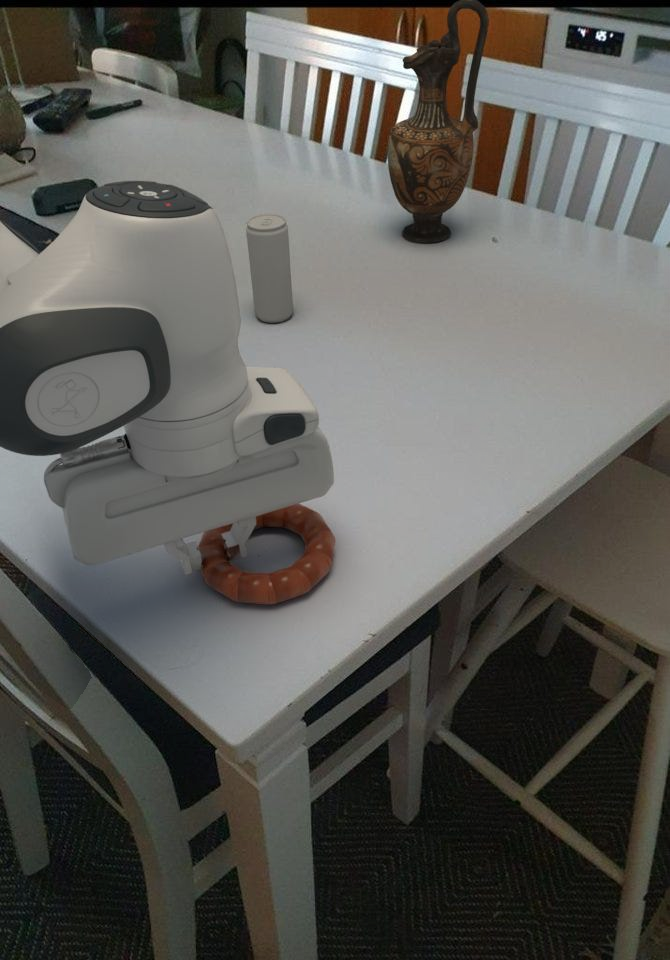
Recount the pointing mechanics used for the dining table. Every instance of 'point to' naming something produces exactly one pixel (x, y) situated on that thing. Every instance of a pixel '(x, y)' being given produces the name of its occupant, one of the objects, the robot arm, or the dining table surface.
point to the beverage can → (270, 267)
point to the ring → (279, 582)
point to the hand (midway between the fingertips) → (214, 560)
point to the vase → (435, 134)
